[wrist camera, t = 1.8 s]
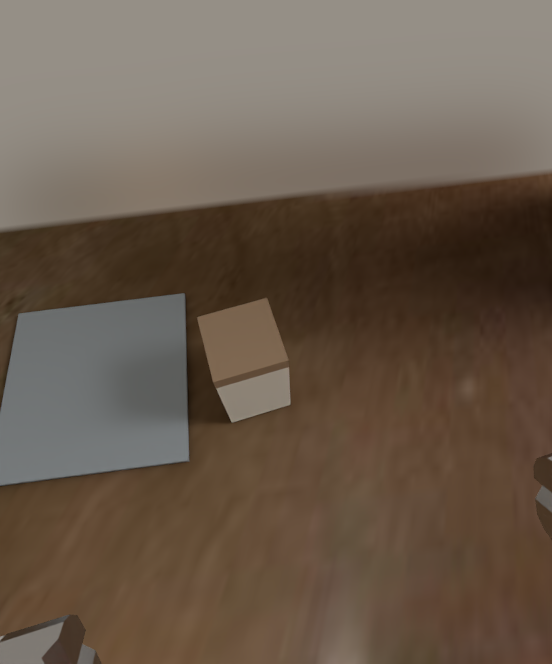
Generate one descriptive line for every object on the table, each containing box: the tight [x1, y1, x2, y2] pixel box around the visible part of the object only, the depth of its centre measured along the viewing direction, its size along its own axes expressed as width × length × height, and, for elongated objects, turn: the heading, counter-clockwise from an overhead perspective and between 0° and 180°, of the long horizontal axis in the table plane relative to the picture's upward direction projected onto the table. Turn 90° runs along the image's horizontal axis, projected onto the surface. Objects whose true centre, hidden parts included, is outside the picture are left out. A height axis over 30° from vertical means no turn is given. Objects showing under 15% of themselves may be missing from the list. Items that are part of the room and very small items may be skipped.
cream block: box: [197, 298, 290, 422], centre depth 30 cm, size 4×4×8 cm
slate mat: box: [0, 293, 189, 486], centre depth 34 cm, size 14×14×1 cm
